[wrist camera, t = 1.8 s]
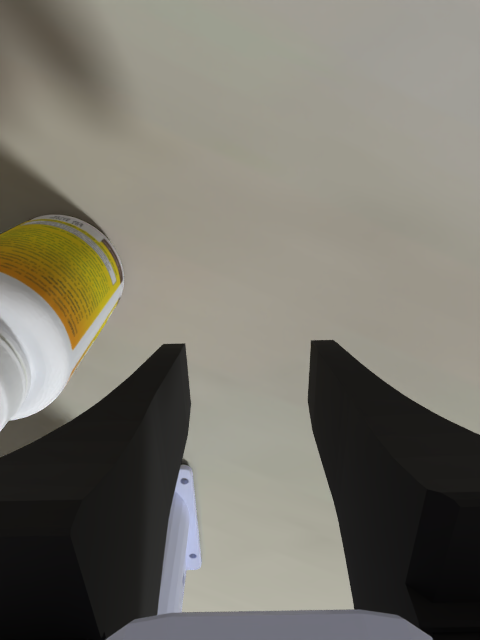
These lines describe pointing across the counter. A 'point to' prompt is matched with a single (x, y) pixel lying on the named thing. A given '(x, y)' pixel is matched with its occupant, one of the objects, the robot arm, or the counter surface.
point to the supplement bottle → (51, 307)
